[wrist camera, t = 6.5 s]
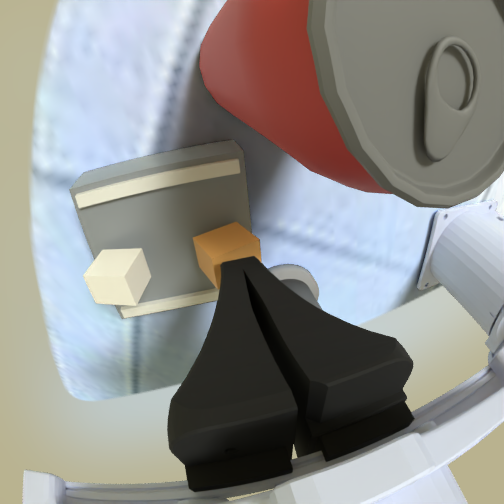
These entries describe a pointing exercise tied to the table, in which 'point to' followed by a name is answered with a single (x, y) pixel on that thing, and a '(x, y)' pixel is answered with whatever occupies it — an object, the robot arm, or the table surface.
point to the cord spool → (298, 281)
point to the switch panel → (165, 216)
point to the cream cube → (118, 276)
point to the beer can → (369, 89)
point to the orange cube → (224, 248)
